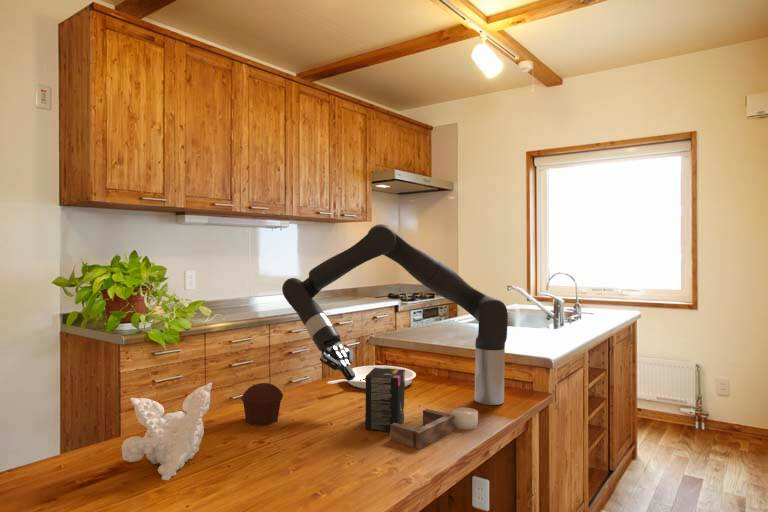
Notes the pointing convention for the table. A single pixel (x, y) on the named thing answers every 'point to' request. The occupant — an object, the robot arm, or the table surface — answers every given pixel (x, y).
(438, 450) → the table surface
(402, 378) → the tampon box
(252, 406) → the muffin
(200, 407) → the white animal figurine
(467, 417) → the rounded cream block
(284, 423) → the table surface
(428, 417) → the frame
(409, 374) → the pan
